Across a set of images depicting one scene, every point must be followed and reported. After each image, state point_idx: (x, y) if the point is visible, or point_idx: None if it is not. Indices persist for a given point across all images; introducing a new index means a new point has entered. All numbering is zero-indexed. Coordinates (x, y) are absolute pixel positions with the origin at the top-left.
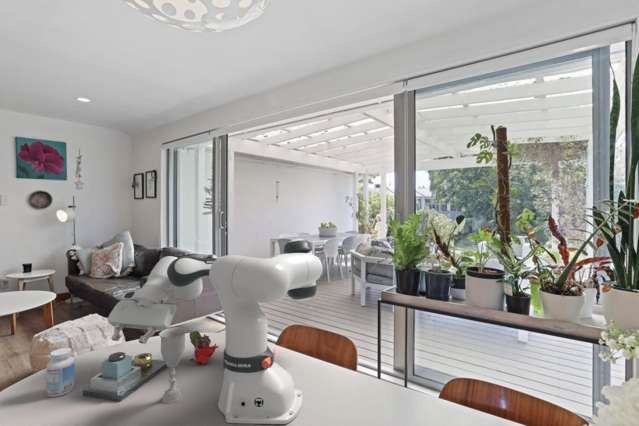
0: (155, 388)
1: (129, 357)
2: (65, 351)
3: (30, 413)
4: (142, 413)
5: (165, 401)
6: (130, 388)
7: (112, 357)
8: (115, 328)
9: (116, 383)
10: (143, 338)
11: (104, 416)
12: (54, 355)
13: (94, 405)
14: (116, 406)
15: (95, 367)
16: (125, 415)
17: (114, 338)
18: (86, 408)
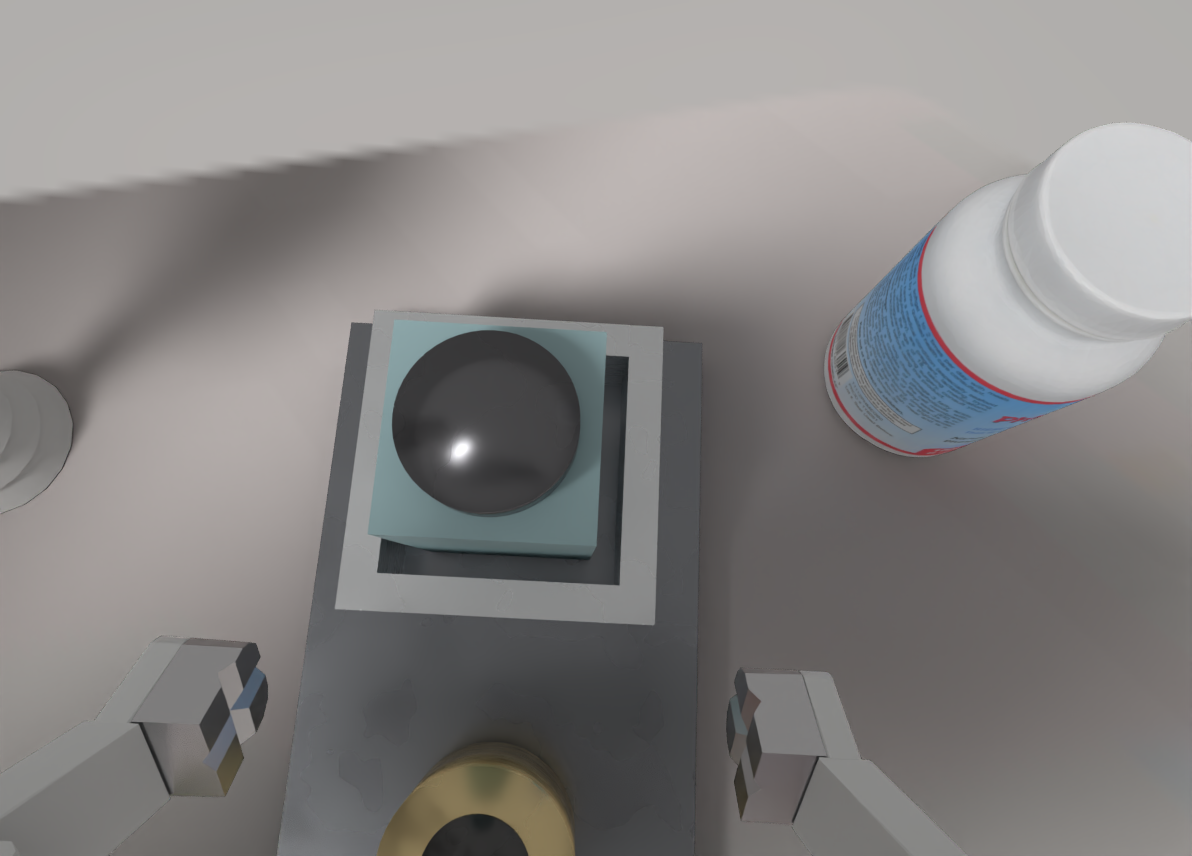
0: (199, 541)
1: (374, 502)
2: (1095, 224)
3: (837, 150)
4: (129, 246)
5: (15, 374)
6: (344, 425)
7: (499, 354)
8: (921, 847)
9: (390, 316)
10: (141, 674)
11: (361, 187)
12: (1111, 126)
13: (515, 273)
14: (356, 286)
15: (995, 782)
16: (231, 214)
17: (764, 672)
18: (541, 238)
